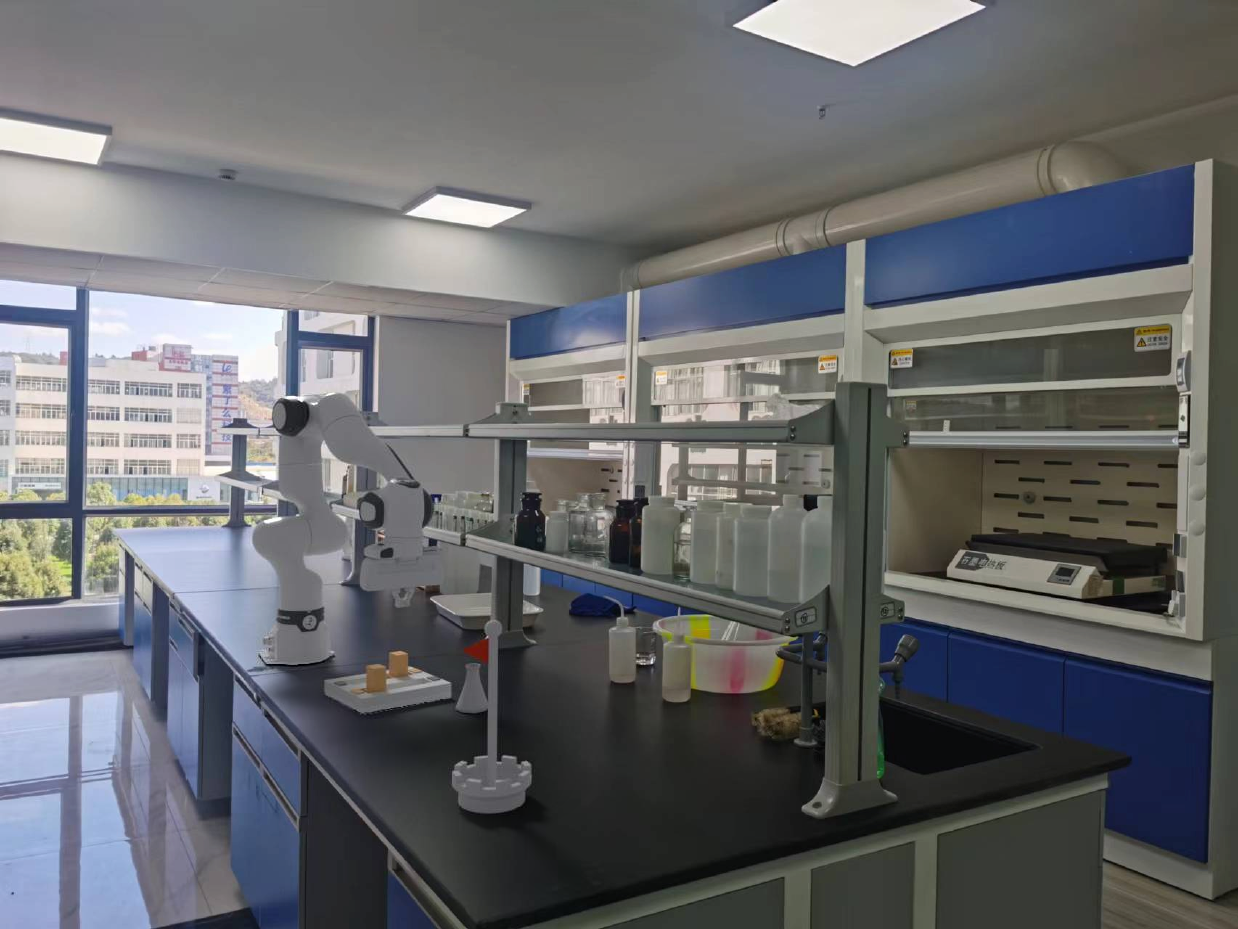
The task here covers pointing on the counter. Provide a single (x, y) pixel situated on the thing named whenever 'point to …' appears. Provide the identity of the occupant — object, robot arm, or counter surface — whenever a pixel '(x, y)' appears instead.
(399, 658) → the tab
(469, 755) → the counter surface
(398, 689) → the switch box
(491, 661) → the flag stand
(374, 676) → the tab
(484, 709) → the flask
